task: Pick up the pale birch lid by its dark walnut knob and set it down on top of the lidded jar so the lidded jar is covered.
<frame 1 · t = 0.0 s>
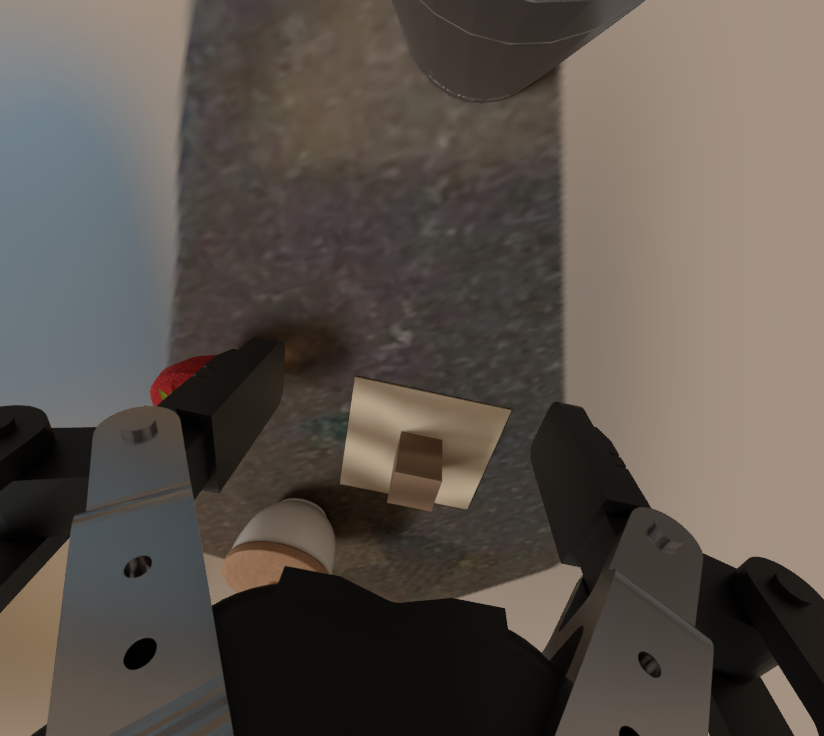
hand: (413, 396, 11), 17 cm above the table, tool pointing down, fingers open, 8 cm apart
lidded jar: (301, 513, 43), on the table
strawberry: (242, 360, 32), on the table
lid: (418, 444, 36), on the table
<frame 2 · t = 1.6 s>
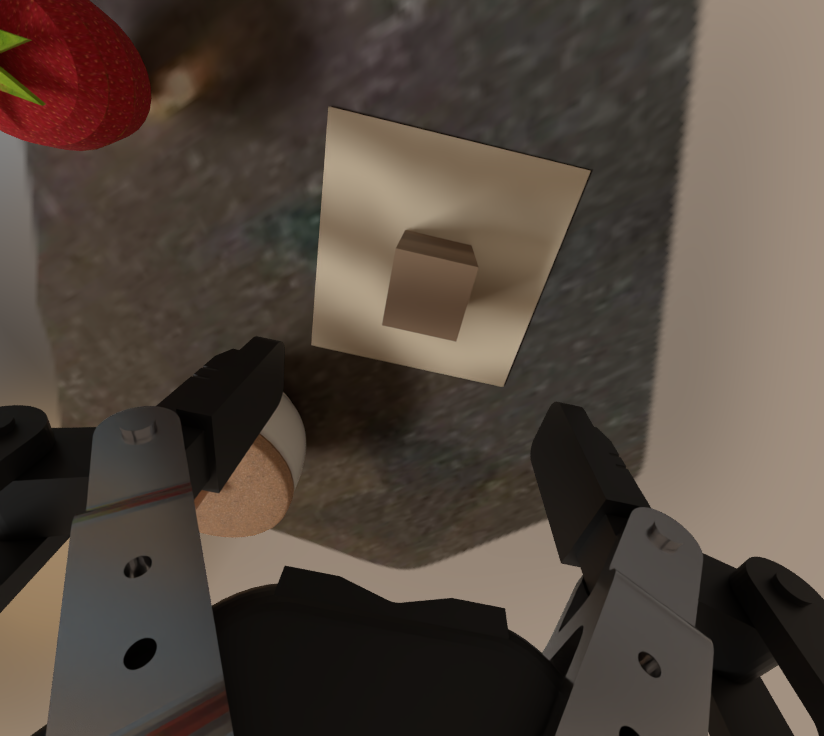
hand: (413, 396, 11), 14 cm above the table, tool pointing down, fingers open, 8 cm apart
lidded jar: (259, 408, 29), on the table
strawberry: (140, 86, 19), on the table
lid: (431, 267, 23), on the table
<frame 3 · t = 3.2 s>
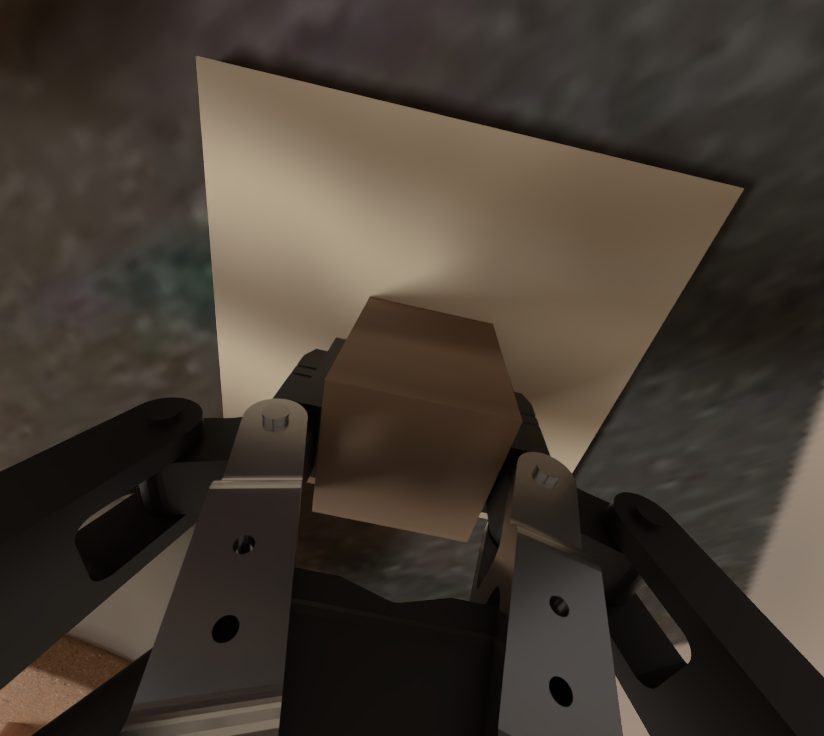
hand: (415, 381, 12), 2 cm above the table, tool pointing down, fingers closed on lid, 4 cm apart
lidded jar: (170, 527, 20), on the table
lid: (419, 353, 13), on the table, touching gripper
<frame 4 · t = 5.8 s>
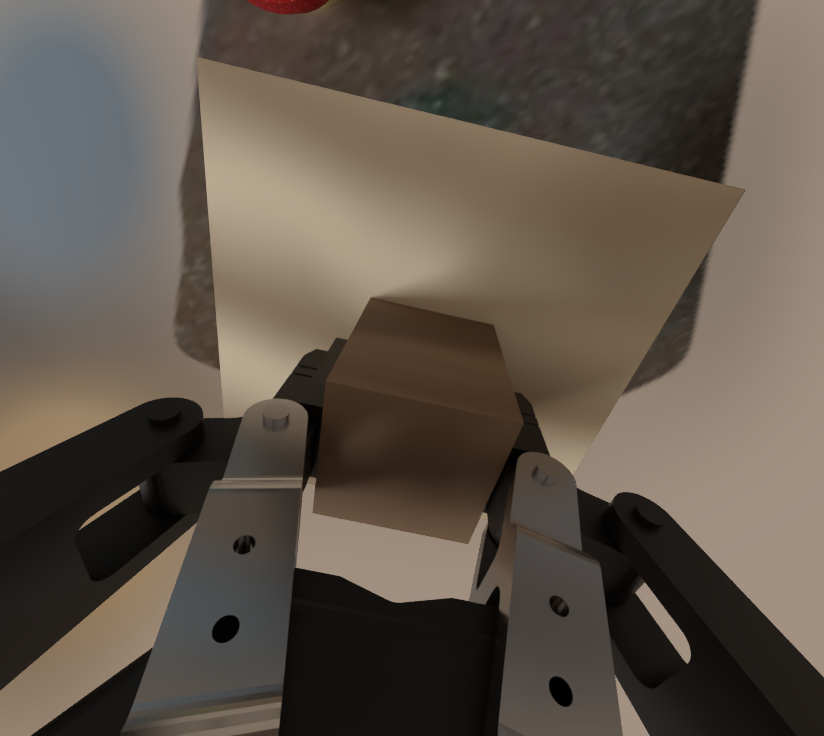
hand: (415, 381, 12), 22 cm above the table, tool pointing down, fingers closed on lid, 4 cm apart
lid: (420, 354, 13), point 20 cm above the table, touching gripper
when the fingers open (12 cm above the table, at t = 8.4 s): lid stays where it is, resting on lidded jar.
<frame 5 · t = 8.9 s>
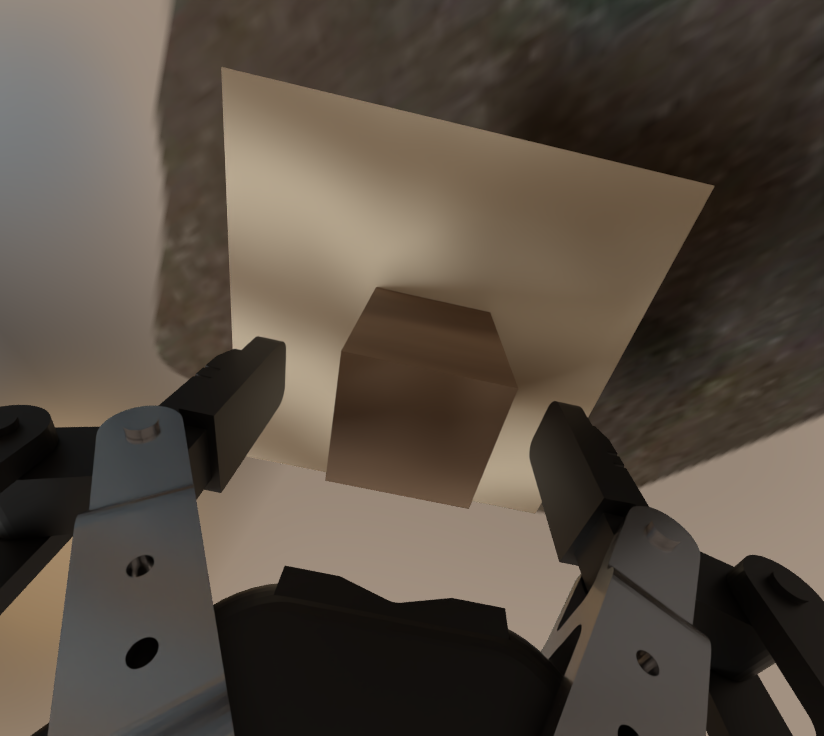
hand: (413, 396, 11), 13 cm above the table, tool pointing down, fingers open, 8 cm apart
lid: (421, 342, 14), point 9 cm above the table, touching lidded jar
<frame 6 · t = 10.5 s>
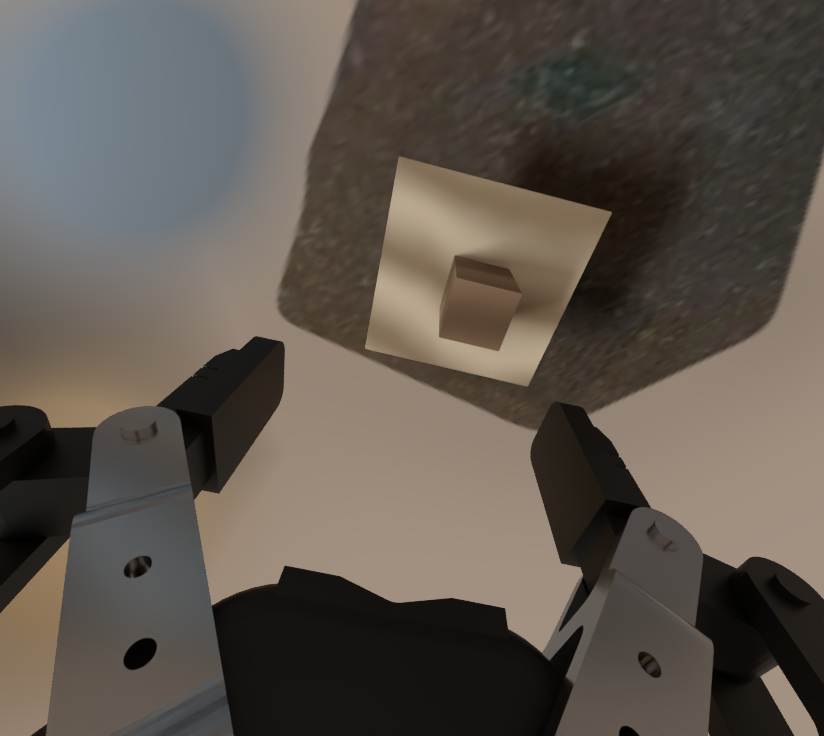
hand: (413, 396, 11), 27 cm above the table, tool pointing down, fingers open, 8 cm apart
lid: (472, 285, 27), point 9 cm above the table, touching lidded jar
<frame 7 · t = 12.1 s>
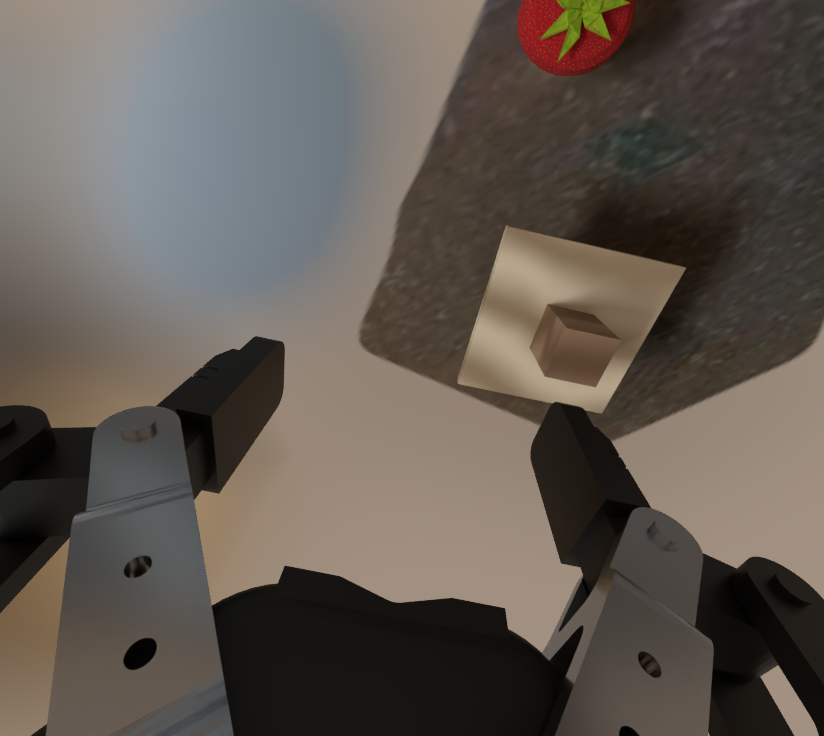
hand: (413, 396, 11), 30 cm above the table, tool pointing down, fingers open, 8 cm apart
strawberry: (552, 43, 29), on the table
lid: (557, 327, 31), point 9 cm above the table, touching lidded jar
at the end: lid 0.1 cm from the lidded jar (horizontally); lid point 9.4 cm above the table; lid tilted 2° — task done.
